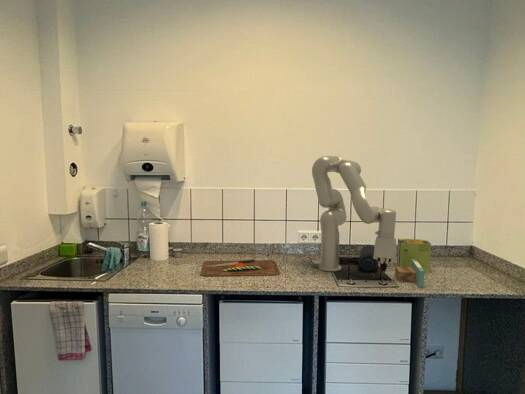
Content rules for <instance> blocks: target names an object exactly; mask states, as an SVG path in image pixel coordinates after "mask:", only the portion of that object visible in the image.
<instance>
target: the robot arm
mask: <svg viewBox="0 0 525 394" xmlns="http://www.w3.org/2000/svg"><path fill="white" fill-rule="evenodd" d="M361 172H362V167H361V165H360V164H359V163H358V162H357V161H354V160H351V159H347V158H343V157H340V156H336V155H324V156H321V157H319V158H317V159H316V160H315V161H314V163H313V165H312V168H311V174H312V179H313V182H314V188H315V191H316V196H317V200H318V204H319V206H320V207H322V208H324V209H325V208H328V209H327V210H325V211H324V212H323V213H321V214H320V215H321V216H320V219H319V222H320V223H319V224H320V233H321V234H320V239H321V240H320V241H321V242H320V258H319V259H312V261H311V263H312V264H314V265H317V268H318V270H321V271H322V272H323V271H324V272H338V271H341V270H342V269H343V268H342V266H341V265H340V263H339V262H340V230H339V226H342V225H343V224H345V223H346V220H347V217H348V216H347V211H346V206H345V202H344V198H343V194H341V192H340V191H339V190H338V189H335V188H333V185H332V181H331V178H330V177H329V175H328V173H337V174H339V175H340V177H341V179H342V180H343V182H344V185H345V186H346V187H347V189H348V191H349V194H350V196H351V197H350V198H351V201H352V207H353V208H354V211H355V212H356V214H357V216H358V217H359V219H360V220H361V221H362V223H364V224H369V225H370V224H373V223H377V222H378V230H377V231H375V232H374V235H377V236H376V237H375V242H374V255H373V258H374V259H377V260H378V263H380V266H379V269H380V270H381V272H382V273H386V271H387V269H388V264H389V263H390V262H392V261H397V238H396V237H395V233H396V231H395V230H396V220H397V218H396V217H397V212H396V210H395V209H391V208H381V207H379V206H370V204H369V202H368V200H367V198H366V191H367V185H366V183H365V182H364V180H363V178H362V177H361ZM384 259H385V260H384Z"/></svg>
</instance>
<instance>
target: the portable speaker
mask: <svg viewBox="0 0 525 394" xmlns="http://www.w3.org/2000/svg"><path fill="white" fill-rule="evenodd" d="M374 247H375V245H374V246H373V245H365V246H363V247H362V249H361V250H360V254H359V258H358V263H359V267H360V268H361V269H362V271H365V272H371V271H372V272H373V271H375V270H376V269H377V267H378V266H379V261H378V260H377V259H374V258H373V255H374Z"/></svg>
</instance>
